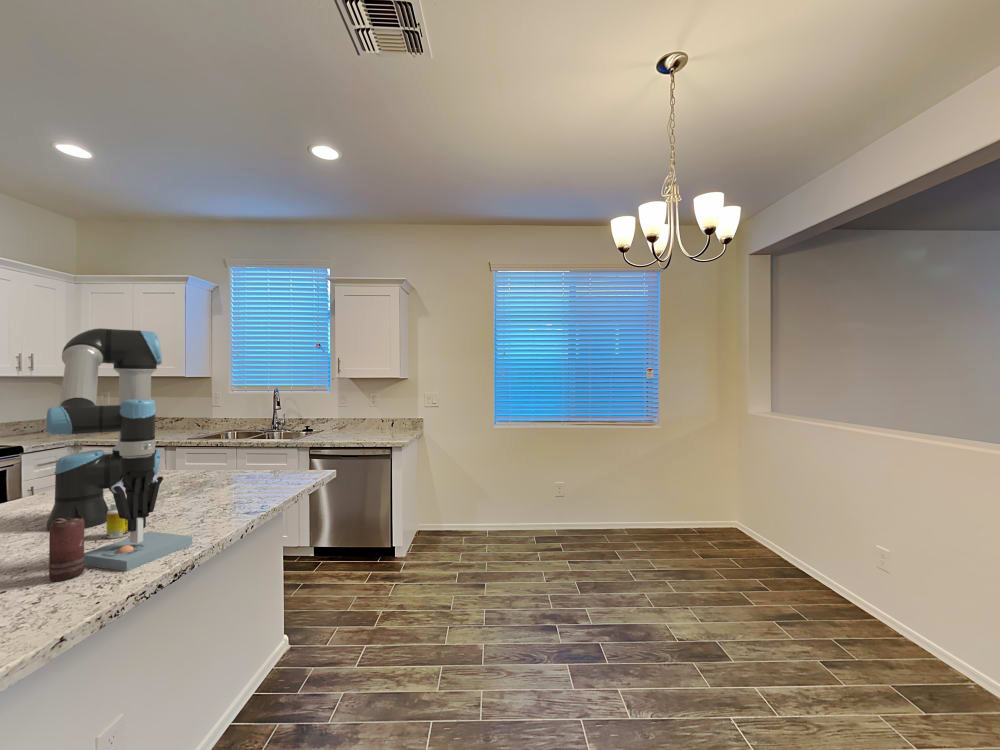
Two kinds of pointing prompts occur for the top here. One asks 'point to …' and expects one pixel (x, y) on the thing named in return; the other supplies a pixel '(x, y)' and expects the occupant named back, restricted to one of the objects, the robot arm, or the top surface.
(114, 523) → the supplement bottle
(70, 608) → the top surface
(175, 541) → the board
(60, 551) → the can
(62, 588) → the top surface
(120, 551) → the ball
